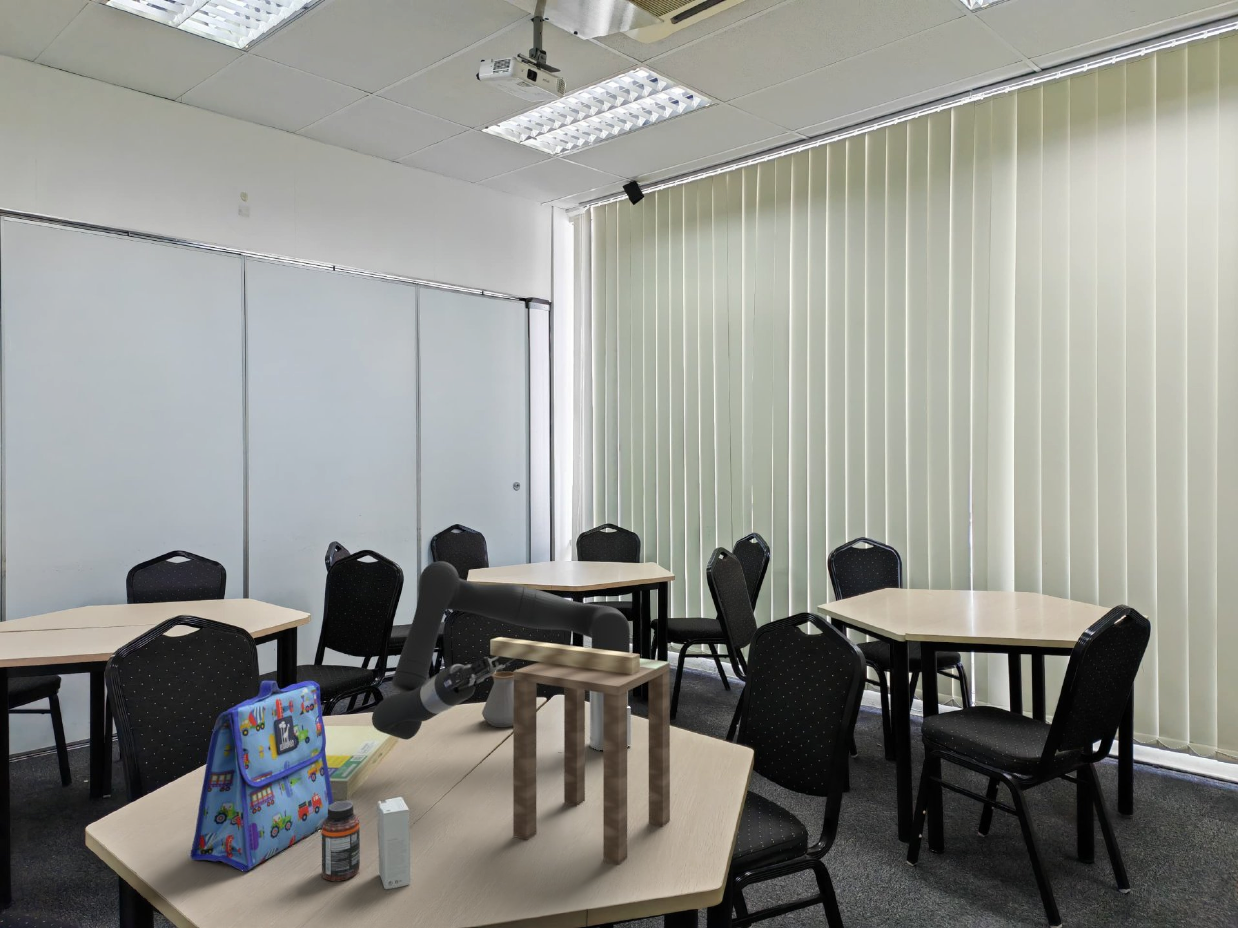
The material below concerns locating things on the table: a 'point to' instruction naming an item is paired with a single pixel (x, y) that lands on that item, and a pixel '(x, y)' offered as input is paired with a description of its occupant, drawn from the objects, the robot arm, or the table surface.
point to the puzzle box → (354, 755)
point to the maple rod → (566, 655)
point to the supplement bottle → (340, 842)
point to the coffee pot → (500, 701)
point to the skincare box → (394, 843)
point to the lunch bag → (264, 777)
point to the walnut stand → (574, 744)
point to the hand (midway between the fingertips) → (501, 657)
